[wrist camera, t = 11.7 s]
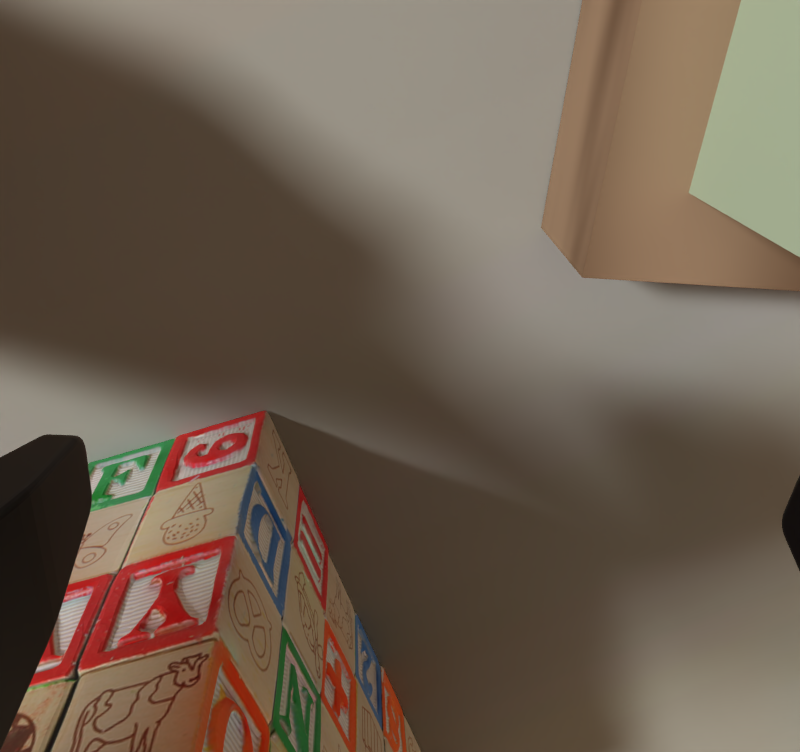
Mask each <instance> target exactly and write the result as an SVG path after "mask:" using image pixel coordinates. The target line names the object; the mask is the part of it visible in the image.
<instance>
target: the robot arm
mask: <svg viewBox="0 0 800 752" xmlns="http://www.w3.org/2000/svg"><path fill="white" fill-rule="evenodd" d="M91 505H92V490H91V483H90V476H89V469H88V462H87V454H86V448H85V445H84V442H83V440H82V439H81V438H80V437H78V436H73V435H43V436H41V437H39V438H37V439H35V440H33V441H31V442H29V443H27V444H25V445H23V446H21V447H19V448H17V449H16V450H14V451H12V452H10V453H8V454H6V455H4V456H2V457H0V751H1V748H2V746H3V744H4V742H5V739H6V737H7V735H8V733H9V730H10V728H11V726H12V724H13V721H14V719H15V717H16V715H17V712H18V710H19V708H20V705H21V703H22V701H23V699H24V696H25V694H26V692H27V690H28V687H29V685H30V683H31V681H32V678H33V676H34V674H35V672H36V669H37V667H38V665H39V663H40V660H41V658H42V656H43V653H44V651H45V649H46V647H47V644H48V642H49V639H50V637H51V635H52V632H53V630H54V627H55V625H56V622H57V619H58V616H59V613H60V610H61V607H62V603H63V600H64V597H65V593H66V590H67V587H68V584H69V580H70V577H71V574H72V570H73V567H74V564H75V561H76V557H77V554H78V551H79V548H80V544H81V541H82V538H83V534H84V531H85V528H86V525H87V521H88V518H89V515H90V511H91ZM782 528H783V533H784V536H785V538H786V541H787V543H788V545H789V548H790V550H791V552H792V554H793V557H794V559H795V561H796V564H797V566H798V568H799V571H800V476H799V478H798V480H797V483H796V485H795V487H794V490H793V492H792V494H791V497H790V499H789V502H788V504H787V506H786V509H785V511H784V514H783V518H782Z"/></svg>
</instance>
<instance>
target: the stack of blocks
mask: <svg viewBox="0 0 800 752" xmlns="http://www.w3.org/2000/svg"><path fill="white" fill-rule="evenodd" d="M88 469H89V476H90V483H91V490H92V505H91V511H90V515H89V518H88V521H87V525H86V528H85V531H84V534H83V538H82V541H81V544H80V548H79V551H78V554H77V557H76V561H75V564H74V567H73V570H72V574H71V577H70V580H69V584H68V587H67V590H66V593H65V597H64V600H63V603H62V607H61V610H60V613H59V616H58V619H57V622H56V625H55V627H54V630H53V632H52V635H51V637H50V639H49V642H48V644H47V647H46V649H45V651H44V653H43V656H42V658H41V660H40V663H39V665H38V667H37V669H36V672H35V674H34V676H33V678H32V681H31V683H30V685H29V687H28V690H27V692H26V694H25V696H24V699H23V701H22V703H21V705H20V708H19V710H18V712H17V715H16V717H15V719H14V721H13V724H12V726H11V728H10V730H9V733H8V735H7V737H6V739H5V742H4V744H3V746H2V748H1V751H0V752H421V750H420V748H419V746H418V744H417V742H416V739H415V737H414V735H413V733H412V731H411V729H410V726H409V724H408V722H407V720H406V718H405V716H404V715H403V711H402V709H401V706H400V704H399V701H398V699H397V697H396V695H395V693H394V690H393V688H392V686H391V684H390V681H389V679H388V677H387V675H386V673H385V670H384V668H383V667H382V666H380V665H379V663H378V660H377V657H376V655H375V653H374V651H373V649H372V647H371V644H370V642H369V640H368V638H367V635H366V633H365V631H364V629H363V627H362V624H361V622H360V620H359V617H358V615H357V614H356V613H355V612H354V609H353V606H352V604H351V602H350V599H349V597H348V595H347V593H346V591H345V588H344V586H343V584H342V582H341V580H340V577H339V575H338V573H337V571H336V569H335V567H334V564H333V562H332V560H331V558H330V556H329V555H328V553H329V550H328V547H327V545H326V542H325V540H324V537H323V535H322V533H321V531H320V529H319V526H318V524H317V522H316V520H315V517H314V515H313V513H312V511H311V508H310V506H309V504H308V502H307V500H306V497H305V495H304V493H303V491H302V489H301V486H300V485H299V481H298V478H297V476H296V473H295V471H294V469H293V467H292V464H291V462H290V460H289V457H288V455H287V453H286V451H285V448H284V446H283V444H282V442H281V440H280V437H279V435H278V433H277V431H276V428H275V426H274V424H273V422H272V420H271V417H270V415H269V414H268V413H267V411H261V412H257V413H254V414H251V415H247V416H244V417H240V418H237V419H234V420H230V421H227V422H223V423H220V424H217V425H213V426H210V427H207V428H204V429H200V430H197V431H193V432H190V433H187V434H183V435H180V436H178V437H176V438H175V439H171V440H168V441H164V442H161V443H158V444H154V445H151V446H147V447H144V448H140V449H137V450H133V451H130V452H126V453H123V454H119V455H116V456H113V457H109V458H106V459H102V460H98V461H95V462H91V463H89V464H88Z"/></svg>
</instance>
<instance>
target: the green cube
mask: <svg viewBox="0 0 800 752" xmlns="http://www.w3.org/2000/svg"><path fill="white" fill-rule="evenodd" d="M689 193H690V194H691V195H693V196H695V197H697V198H698V199H700V200H702V201H704V202H705V203H707V204H709V205H710V206H712V207H714V208H716V209H717V210H719V211H721V212H722V213H724V214H726V215H728V216H729V217H731V218H733V219H735V220H736V221H738V222H740V223H741V224H743V225H745V226H747V227H748V228H750V229H752V230H753V231H755V232H757V233H759V234H760V235H762V236H764V237H766V238H767V239H769V240H771V241H772V242H774V243H776V244H778V245H779V246H781V247H783V248H784V249H786V250H788V251H790V252H791V253H793V254H795V255H797V256H798V257H800V0H741V3H740V6H739V10H738V14H737V17H736V21H735V25H734V28H733V32H732V36H731V39H730V43H729V47H728V50H727V54H726V58H725V61H724V65H723V69H722V72H721V76H720V80H719V83H718V87H717V91H716V94H715V98H714V102H713V105H712V109H711V113H710V116H709V120H708V124H707V127H706V131H705V135H704V138H703V142H702V146H701V149H700V153H699V157H698V160H697V164H696V168H695V171H694V175H693V179H692V182H691V186H690V190H689Z"/></svg>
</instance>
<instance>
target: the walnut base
mask: <svg viewBox="0 0 800 752" xmlns="http://www.w3.org/2000/svg"><path fill="white" fill-rule="evenodd" d="M740 3H741V0H582V6H581V11H580V17H579V22H578V28H577V33H576V39H575V44H574V50H573V55H572V61H571V66H570V72H569V77H568V83H567V88H566V94H565V99H564V105H563V110H562V116H561V121H560V127H559V132H558V138H557V143H556V149H555V154H554V160H553V165H552V171H551V176H550V182H549V187H548V193H547V198H546V204H545V209H544V215H543V220H542V226H541V228H542V229H543V230H544V232H545V233H546V234H547V235H548V236H549V238H550V239H551V240H552V241H553V243H554V244H555V245H556V246H557V247H558V249H559V250H560V251H561V252H562V253H563V255H564V256H565V257H566V258H567V259H568V261H569V262H570V263H571V264H572V266H573V267H574V268H575V269H576V270H577V272H578V273H579V274H580V275H581V276H582V277H583V278H599V279H615V280H631V281H647V282H663V283H679V284H695V285H711V286H727V287H743V288H759V289H775V290H791V291H800V257H798V256H797V255H795V254H793V253H791V252H790V251H788V250H786V249H784V248H783V247H781V246H779V245H778V244H776V243H774V242H772V241H771V240H769V239H767V238H766V237H764V236H762V235H760V234H759V233H757V232H755V231H753V230H752V229H750V228H748V227H747V226H745V225H743V224H741V223H740V222H738V221H736V220H735V219H733V218H731V217H729V216H728V215H726V214H724V213H722V212H721V211H719V210H717V209H716V208H714V207H712V206H710V205H709V204H707V203H705V202H704V201H702V200H700V199H698V198H697V197H695V196H693V195H691V194H690V193H689V190H690V186H691V182H692V179H693V175H694V171H695V168H696V164H697V160H698V157H699V153H700V149H701V146H702V142H703V138H704V135H705V131H706V127H707V124H708V120H709V116H710V113H711V109H712V105H713V102H714V98H715V94H716V91H717V87H718V83H719V80H720V76H721V72H722V69H723V65H724V61H725V58H726V54H727V50H728V47H729V43H730V39H731V36H732V32H733V28H734V25H735V21H736V17H737V14H738V10H739V6H740Z"/></svg>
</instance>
